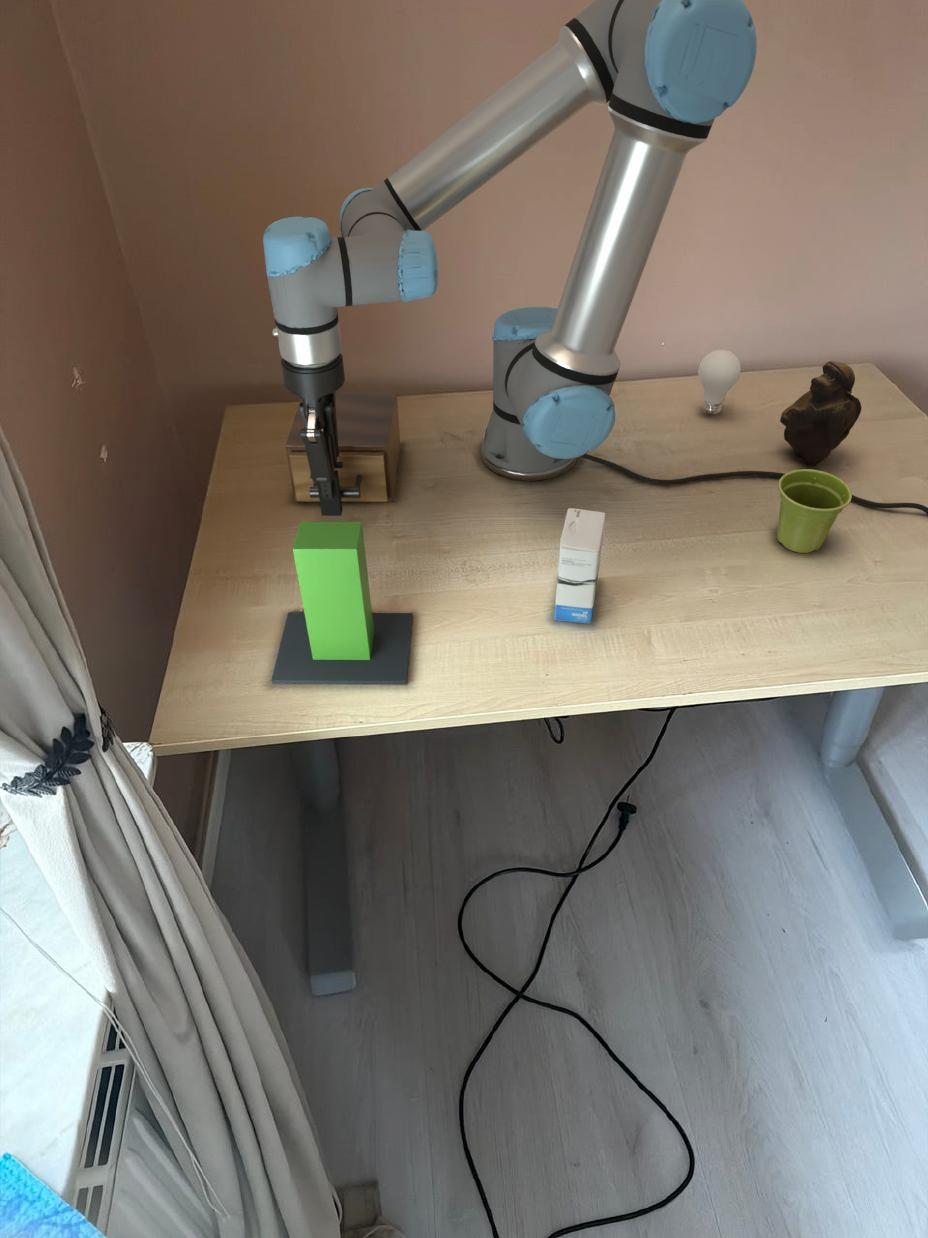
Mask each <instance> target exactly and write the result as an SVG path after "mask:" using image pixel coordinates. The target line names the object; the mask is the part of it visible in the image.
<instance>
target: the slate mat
mask: <svg viewBox="0 0 928 1238" xmlns="http://www.w3.org/2000/svg"><path fill="white" fill-rule="evenodd" d="M372 615H373V624H374V638H373V645H372V652H371V659H370V660H313V657H312V652H311V646H310V641H309V635H308V630H307V624H306V619H305V614H304V611H303V612H299V611H298V612H294V611H292V612H289V611H288V612H287V616H286V619H285V624H284V628H283V632H282V636H281V639H280V643H279V648H278V651H277V656H276V660H275V664H274V668H273V672H272V676H271V680H270V681H271V684H273V685H274V684H275V685H276V684H278V685H279V684H280V685H281V684H282V685H402V686H403V685H406V686H407V683H408V674H409V673H408V672H409V662H410V652H411V642H412V641H411V640H412V631H413V621H414V613H413V612H372Z"/></svg>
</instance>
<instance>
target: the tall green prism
mask: <svg viewBox="0 0 928 1238" xmlns="http://www.w3.org/2000/svg"><path fill="white" fill-rule="evenodd" d="M364 538H365V537H364V528H363V522H362V521H299V524H298V527H297V531H296V535H295V539H294V543H293V546H292V553H293V560H294V564H295V569H296V574H297V575H296V576H297V579H298V581H297V582H298V586H299V591H300V597H301V602H302V607H303V612H304V614H305V619H306V624H307V630H308V635H309V641H310V646H311V652H312V657H313V660H370V659H371V652H372V645H373V638H374V624H373V615H372V613H373V608H372V607H373V606H372V599H371V598H372V597H371V589H370V581H369V573H368V563H367V556H366V555H367V554H366V547H365V546H366V545H365V539H364Z"/></svg>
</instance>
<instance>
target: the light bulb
mask: <svg viewBox="0 0 928 1238" xmlns="http://www.w3.org/2000/svg"><path fill="white" fill-rule="evenodd" d="M741 367H742V366H741V363H740V360H739V359H738V357H737V355H735V354H734V353H733V352H731V351H729V350H726V349H715V350H713V351H711V352H709V353H707V354H705V356H704V357H703V358H702V360H701V361H700V363H699V366H698V369H697V370H698V371H697V374H698V379H699V382H700V384H701V386H702V388H703V410H704V412H706V413H708V414H709V415H715V414H719V413H720V412H721V411H722V407H723V402H724V401H725V399H726V396H727V394H728V392H729V391H730V390H732V388H733V387H734V386H735V385H736V384H737V382H738V380H739V378H740V375H741V372H742V368H741Z"/></svg>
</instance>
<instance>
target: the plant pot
mask: <svg viewBox="0 0 928 1238" xmlns="http://www.w3.org/2000/svg"><path fill="white" fill-rule="evenodd" d="M777 486H778V487H777V488H778V491H779V497H780V505H779V512H778V513H779V514H778V521H777V530H776V539H777V541H778V542H780V543H781V544H782V545H783V546H784V548H785V549H787V550H789V551H792V552H796V553H801V554H808V553H812V552H813V551H818V550H819V549H820V548H821V547H822V545H823V544H824V542H825V540H826V538H827V536H828V534H829V532H830V531H831V529H832V526H833V525H834V523H835V521H836V519H837V518H838V516H839V514H840V513H841V512H842V511H843V510H844V508H846V507H847V506H848V505H849V504H850V503H851V501H852V500H851V498H852V495H853V494H852V489H851V488H850V487H849V485H848V484H847V483H846V482H845V481H843V480H842V479H841V478H840V477H838V476H836V475H833V474H832V473H828V472H826V471H823V470H818V469H809V468H804V469H803V468H801V469H795V470H790V471H789V472H786V473H784V475H783V476H782V477H781V478H779V480H778V485H777Z"/></svg>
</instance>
